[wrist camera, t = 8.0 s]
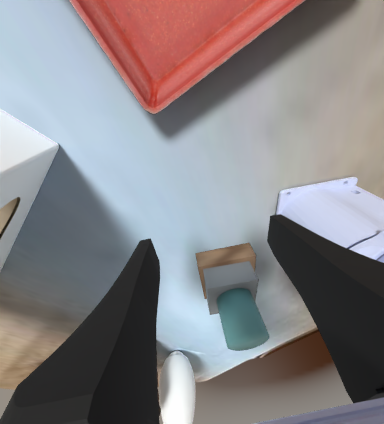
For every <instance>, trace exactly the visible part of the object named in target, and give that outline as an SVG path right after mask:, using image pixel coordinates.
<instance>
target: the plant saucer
mask: <svg viewBox="0 0 384 424" xmlns="http://www.w3.org/2000/svg"><path fill="white" fill-rule="evenodd" d="M69 1H70V2H71V4H72V6H73V7H74V9H75V10H76V12H77V13H78V14H79V16H80V17H81V19H82V20H83V21H84V23H85V24H86V26H87V27H88V29H89V30H90V32H91V33H92V34H93V36H94V37H95V39H96V40H97V42H98V44H99V45H100V46H101V48H102V49H103V51H104V52H105V54H106V55H107V56H108V57H109V59H110V61H111V62H112V64H113V65H114V67H115V68H116V70H117V71H118V72H119V74H120V75H121V77H122V78H123V80H124V81H125V83H126V84H127V86H128V87H129V89H130V90H131V92H132V93H133V94H134V96H135V97H136V99H137V100H138V102H139V103H140V104H141V106H142V107H143V108H144V109H145V110H146V111H148V112H149V113H152V114H157V113H159V112H160V111H162V110H163V109H164V108H166V107H167V106H168V105H169V104H171V103H172V102H173V101H174V100H176V99H177V98H179V97H180V96H181V95H183V94H184V93H185V92H186V91H188V90H189V89H190V88H191V87H193V86H194V85H195V84H197V83H198V82H199V81H201V80H202V79H203V78H205V77H206V76H207V75H208V74H210V73H211V72H212V71H214V70H215V69H216V68H218V67H219V66H221V65H222V64H223V63H224V62H226V61H227V60H228V59H230V58H231V57H232V56H233V55H234V54H236V53H237V52H238V51H240V50H241V49H242V48H244V47H245V46H246V45H248V44H249V43H250V42H252V41H253V40H254V39H255V38H257V37H258V36H259V35H260V34H262V33H263V32H264V31H266V30H267V29H269V28H270V27H272V26H273V25H274V24H276V23H277V22H278V21H279V20H281V19H282V18H283V17H284V16H286V15H287V14H288V13H290V12H291V11H292V10H293V9H295V8H296V7H297V6H299V5H300V4H302V3H303V2H304V1H305V0H69Z"/></svg>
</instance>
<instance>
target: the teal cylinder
mask: <svg viewBox="0 0 384 424" xmlns="http://www.w3.org/2000/svg"><path fill="white" fill-rule="evenodd" d="M217 306H218V310H219V314H220V318H221V323H222V327H223V331H224V335H225V339H226V343H227V347H228V348H229V349H231V350H235V351H240V350H248V349H252V348H255V347H257V346H260V345H262V344H263V343H265V342H266V341H267V340H268V339H269V334H268V332H267V329H266V327H265V324H264V322H263V320H262V317H261V315H260V313H259V310H258V308H257V306H256V303H255V301H254V298H253V296H252V294H251V292H250V291H249V290H247V289H244V288H236V289H231V290H228V291H226V292H224V293H223V294H221V295H220V296H219V297H218V299H217Z"/></svg>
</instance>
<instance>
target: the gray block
mask: <svg viewBox="0 0 384 424" xmlns="http://www.w3.org/2000/svg"><path fill="white" fill-rule="evenodd" d="M203 273H204V281H205V289H206V296H207V302H208V307H209V312H210V315H212V314H217V313H219V310H218V306H217V299H218V297H219V296H220V295H221V294H223V293H224V292H226V291H228V290H231V289H236V288H244V289H247V290H249V291H250V292H251V294H252V296H253V298H254V301H255V299H256V293H257V286H258V278H257V276H256V274H255V271H254V269H253V267H252V265H251V263H250V261H246V262H241V263H235V264H229V265H223V266H217V267H211V268H206V269H203Z"/></svg>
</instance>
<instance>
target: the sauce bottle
mask: <svg viewBox="0 0 384 424" xmlns="http://www.w3.org/2000/svg"><path fill="white" fill-rule="evenodd" d="M159 400H160V408H161V415H162V420H163V424H192V423H193V417H194V410H195V380H194V374H193V370H192V367H191V364H190V362H189V360H188V358H187V357H186V356H185V355H183V353H182V352H180V351H173V352H172V353H171V354H170V355H169V357H168V358H166V360H165V362H164V364H163V367H162V370H161V375H160V382H159Z"/></svg>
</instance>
